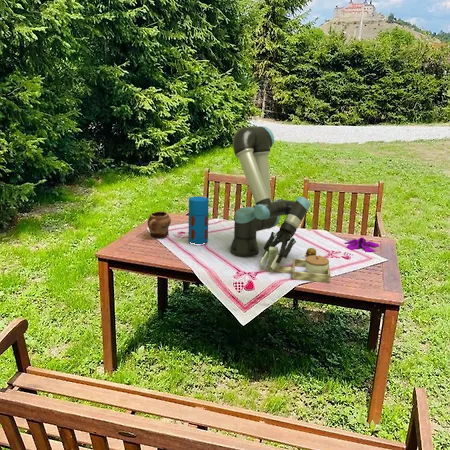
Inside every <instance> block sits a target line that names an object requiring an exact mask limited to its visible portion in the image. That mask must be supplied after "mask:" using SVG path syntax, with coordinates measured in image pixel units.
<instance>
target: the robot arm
mask: <svg viewBox="0 0 450 450" xmlns="http://www.w3.org/2000/svg"><path fill="white" fill-rule="evenodd" d="M274 144H275V136H274V133H273V131H272V129H270V128H269V127H267V126H245V127H241V128H239V129H238V130H236V132H235V134H234V137H233V139H232V150H233V153H234V155H235V158H236V159H238V161H239V164H240V166H241V169H242V171H243V174H244V177H245V179H246V181H247V185H248V187H249V191H250V192H251V195H252V198H253V200H254V203H253V205H252V206H248V207H246V206H245V207H244V206H243V207H241V208H238V209H237V210H236V211H235V213H234V223H233V224H234V227H233V228H234V232H233V234H234V235H233V236H234V237H233V239H232V242H231V245H230V249H229V252H230V254H232V255H233V256H236V257H240V258H241V257H242V258H251V257H256V256H257V255H259V252H260V247H259V244H258V240H257V232H260V231H264V230H269V229H272V228H274V227H276V226H277V225H278V224H279V223H280V219H281V216H285V217H284V219H283V222H282V223H281V225H280V227H279V230H277V232H274V231H271V232H270V233H271V234H270V236H269V238H268V239H267V241H266V242H265V244H264V246H263V247H262V249H263V250H264V252H263V254H262V259H261V260H260V262H259V263H260V265H261V266H265V264H266V262H268V258H269V247H277V246H278V245H279V244H280V243H281V245H280V250H279V252H278V255H277V256H276V258H275V259H274V261H273V263H272V265H271V266H270V267H271V268H272V269H273V270H274V269H275V267H276V265H277V266H278V264H280V263H281V261H282V259H287V258H288V256H289V254H290V253H291V250H292V248H293V246H294V245H295V244H296V243H297V241H296V239H295V238H294V235H296V232H297V230H298V228H299V227H300V225H301V224H302V221H303V220H304V218H305V216H306V214H307V213H308V212H309V209H310V206H311V202H310V200H308V199H307V197H304V196H298V197H296V199H295V200H288V199H287V200H286V199H283V198H280V199H279V198H277V199H275V200H274V201H272V192H271V180H270V179H271V178H270V177H271V176H270V167H269V154H270V153H271V148H272V147H273V145H274Z"/></svg>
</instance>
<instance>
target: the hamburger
mask: <svg viewBox="0 0 450 450" xmlns="http://www.w3.org/2000/svg"><path fill="white" fill-rule="evenodd" d="M312 255H317V256H319V255H318V254H317V250H316V249H315V248H314V247H309V248H307V249H306V251H305V253H303V254H301V257H302V258H303V259H305V260H306V257H308V256H312ZM304 256H305V257H304Z"/></svg>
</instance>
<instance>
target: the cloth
mask: <svg viewBox="0 0 450 450" xmlns="http://www.w3.org/2000/svg"><path fill="white" fill-rule="evenodd" d="M344 245H346V248H347V249H348V250H349V249H350V251H355V250H354V249H356V250H359V249H363V251H365V252H364V253H374V252H375V253H376V250H374V249H373V248H380V247H381V245H380V244H378V243H376V242H373V241H370V240H366V238H364V237H362V236H361V237H360V238H358V239H356V238H355V239H352V240H349V241H347V242H344Z"/></svg>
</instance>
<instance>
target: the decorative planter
mask: <svg viewBox="0 0 450 450" xmlns="http://www.w3.org/2000/svg"><path fill="white" fill-rule="evenodd" d="M171 223H172V218H171V217H170V215H169V213H168V212H167V211H154V212H151V213H150V215H149V218H148V220H147V226H148V230H149V233H150V236H151V237H152V238H153V237H154V239H164V238H163V237H165V238H167V237H168V236H169V228H170V225H171ZM167 235H168V236H167ZM166 236H167V237H166Z"/></svg>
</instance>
